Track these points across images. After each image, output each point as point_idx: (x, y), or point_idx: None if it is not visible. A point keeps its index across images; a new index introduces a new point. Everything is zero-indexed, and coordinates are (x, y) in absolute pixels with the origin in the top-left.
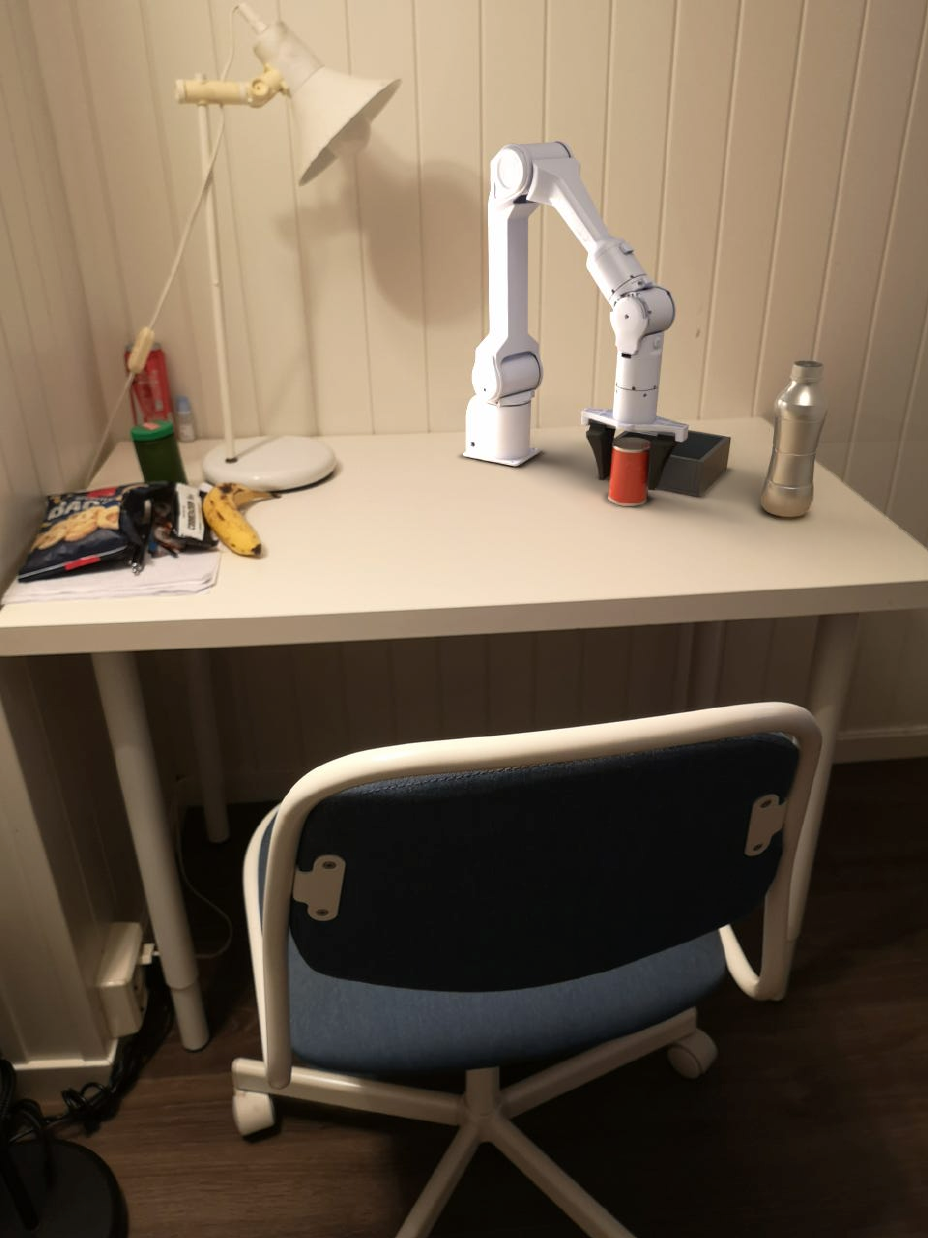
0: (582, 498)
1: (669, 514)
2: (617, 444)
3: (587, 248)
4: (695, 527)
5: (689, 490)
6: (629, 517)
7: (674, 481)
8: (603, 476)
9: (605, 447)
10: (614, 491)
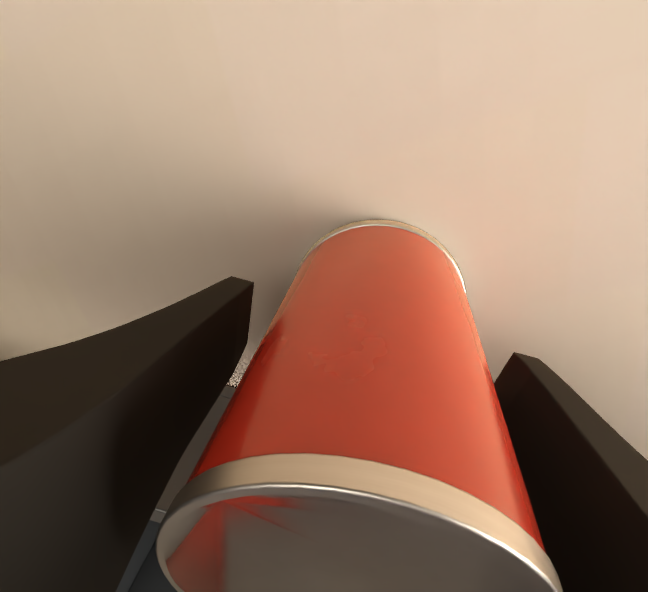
0: (601, 262)
1: (168, 179)
2: None
3: None
4: (9, 50)
5: None
6: (330, 67)
7: (211, 415)
8: (523, 365)
9: (603, 580)
10: (439, 264)
